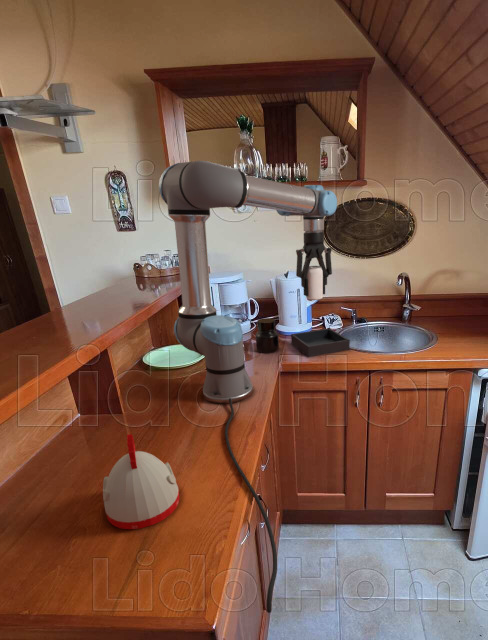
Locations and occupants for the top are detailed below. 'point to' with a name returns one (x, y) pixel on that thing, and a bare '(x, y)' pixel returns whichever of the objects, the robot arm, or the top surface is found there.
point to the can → (315, 283)
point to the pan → (320, 342)
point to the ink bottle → (267, 336)
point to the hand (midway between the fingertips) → (314, 294)
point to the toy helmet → (139, 490)
